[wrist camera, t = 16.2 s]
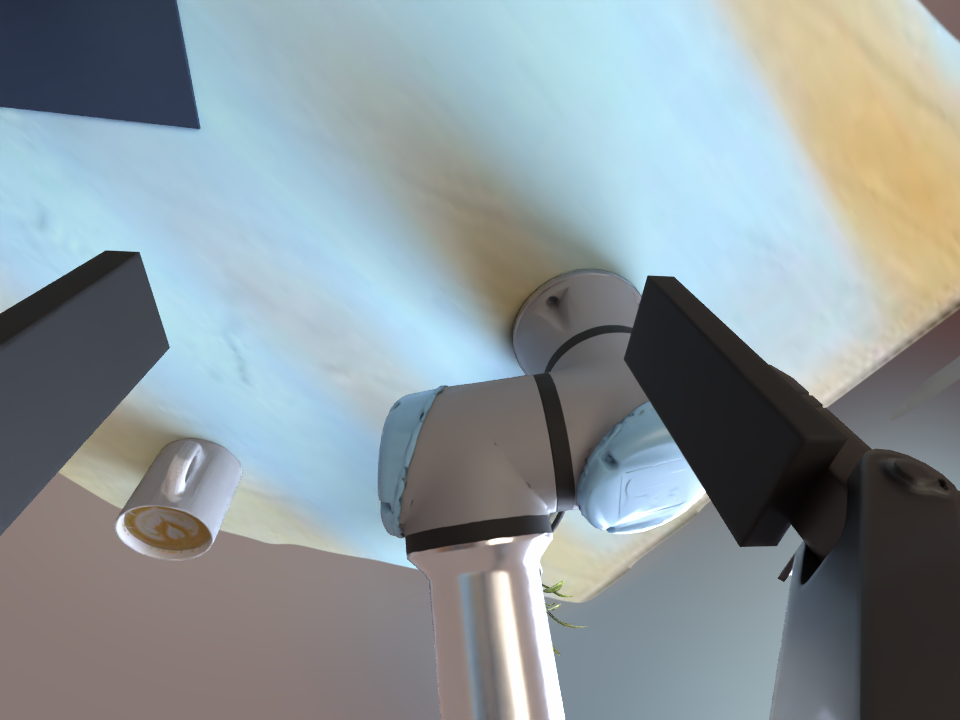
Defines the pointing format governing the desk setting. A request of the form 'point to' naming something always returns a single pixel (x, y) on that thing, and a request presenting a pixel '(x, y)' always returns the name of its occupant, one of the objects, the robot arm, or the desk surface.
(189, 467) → the coffee mug
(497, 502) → the robot arm
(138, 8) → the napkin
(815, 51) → the desk surface
